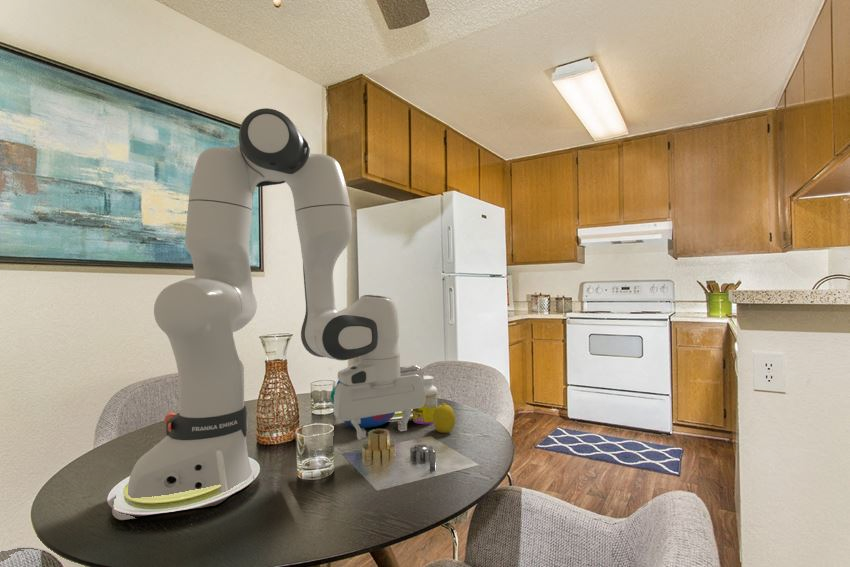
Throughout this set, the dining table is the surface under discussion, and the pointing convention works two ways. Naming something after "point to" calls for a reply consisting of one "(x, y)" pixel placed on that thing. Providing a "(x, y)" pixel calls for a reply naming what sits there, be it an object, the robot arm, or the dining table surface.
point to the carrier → (409, 463)
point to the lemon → (444, 418)
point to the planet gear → (378, 445)
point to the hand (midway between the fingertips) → (382, 434)
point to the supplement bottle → (427, 403)
